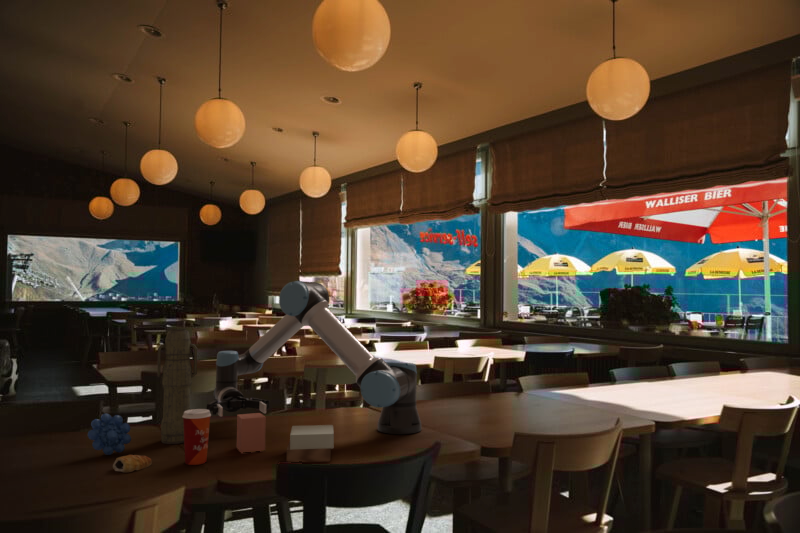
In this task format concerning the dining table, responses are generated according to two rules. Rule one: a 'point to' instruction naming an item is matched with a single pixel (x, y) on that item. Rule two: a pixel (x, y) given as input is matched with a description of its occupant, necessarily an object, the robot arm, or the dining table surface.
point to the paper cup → (196, 435)
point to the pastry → (131, 463)
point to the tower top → (312, 437)
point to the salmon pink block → (251, 432)
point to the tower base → (308, 454)
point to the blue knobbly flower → (109, 434)
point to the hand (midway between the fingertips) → (243, 410)
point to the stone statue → (176, 383)
